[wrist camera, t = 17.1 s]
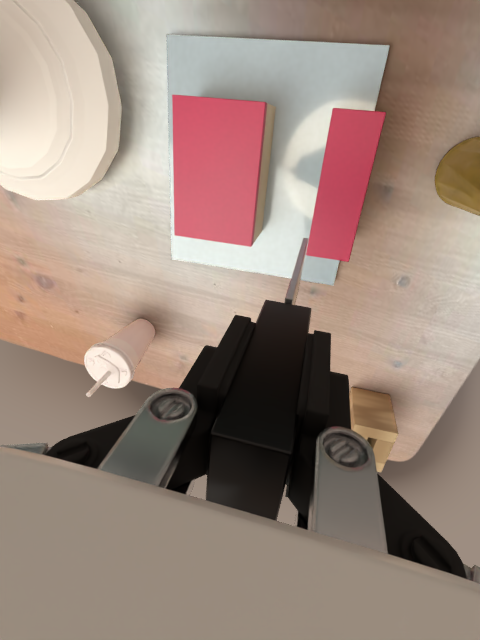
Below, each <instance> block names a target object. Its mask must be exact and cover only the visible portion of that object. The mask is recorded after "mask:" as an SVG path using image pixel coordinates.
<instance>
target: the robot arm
mask: <svg viewBox="0 0 480 640" xmlns="http://www.w3.org/2000/svg"><path fill="white" fill-rule="evenodd" d="M255 326H256V323H253V322H251V318H249V317H244V316H238V315H235V316H234V318H233V320H232V322H231V324H230V325H229V327H228V329H227V331H226V333H225V335H224V336H223V338H222V340H221V342H220V344H219V345H218V347H212V346H208V345H207V346H205V347H204V348H203V350H202V352H201V353H200V355H199V356H198V358H197V360H196V361H195V363H194V365H193V366H192V368H191V370H190V371H189V373H188V374H187V376H186V378H185V379H184V381H183V383H182V384H181V386H180V387H179V388H166V389H162V390H159V391H157V392H155V393H154V394H152V395H151V396H150V397H149V398H148V399H147V400H146V402H145V403H144V404H143V406H142V407H141V409H140V410H139V411H138V413H137V414H136V415H134V416H132V417H128V418H125V419H122V420H119V421H116V422H113V423H110V424H107V425H104V426H101V427H98V428H95V429H92V430H89V431H86V432H83V433H80V434H77V435H74V436H70V437H68V438H66V439H63V440H61V441H60V442H58V443H57V444H55V445H54V446H53V447H48V445H47V443H37V444H20V445H1V446H0V640H480V567H478V566H476V565H474V566H473V567H472V569H471V568H470V567H468V566H466V565H465V564H463V563H462V561H461V559H460V557H459V556H458V554H457V552H456V551H455V550H454V549H453V548H452V546H451V545H450V544H449V543H448V542H447V541H446V540H445V539H444V538H443V537H442V536H441V535H440V534H439V533H438V532H437V531H436V530H435V529H434V528H433V527H432V526H431V525H430V524H429V523H428V522H427V521H426V520H425V519H424V518H423V517H422V516H421V515H420V514H418V513H417V511H415V510H414V509H413V508H412V507H411V506H410V505H409V504H408V503H407V502H406V501H405V500H404V499H403V498H402V497H401V496H400V495H399V494H398V493H397V492H396V491H395V490H394V489H393V488H392V487H391V486H390V485H389V484H388V483H387V482H386V481H385V480H384V479H383V478H382V477H380V476H379V475H378V474H377V469H376V462H375V455H374V452H373V449H372V447H371V445H370V444H369V442H368V441H367V440H366V439H365V438H364V437H362V436H361V435H360V434H358V433H357V432H355V431H353V430H351V415H350V397H349V379H348V375H345V374H340V373H335V372H330V350H331V333H326V332H321V331H316V330H315V331H314V334H310V333H308V334H307V340H306V347H305V355H304V362H303V369H302V376H301V383H300V391H299V398H298V405H297V412H296V414H297V424H296V431H295V439H294V447H293V454H292V458H291V463H290V467H289V471H288V475H287V479H286V483H285V484H286V485H287V489H286V497H288V498H289V499H290V501H291V502H292V503H293V505H294V506H295V507H296V509H297V512H296V517H295V526H292V525H289V524H286V523H282V522H279V521H275V520H272V519H268V518H265V517H262V516H258V515H255V514H251V513H248V512H244V511H241V510H238V509H234V508H231V507H227V506H224V505H220V504H217V503H213V502H210V501H207V500H203V499H199V498H196V497H193V496H190V494H191V492H192V489H193V487H194V483H195V479H196V478H198V477H201V476H203V475H205V474H206V475H207V473H208V457H209V440H210V432H211V429H212V427H213V424H214V422H215V420H216V417H217V415H218V412H219V410H220V408H221V405H222V403H223V400H224V398H225V397H226V396H227V393H228V391H229V389H230V386H231V384H232V381H233V379H234V377H235V374H236V372H237V369H238V367H239V364H240V362H241V360H242V357H243V355H244V352H245V350H246V347H247V345H248V343H249V340H250V338H251V335H252V333H253V331H254V328H255Z"/></svg>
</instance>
